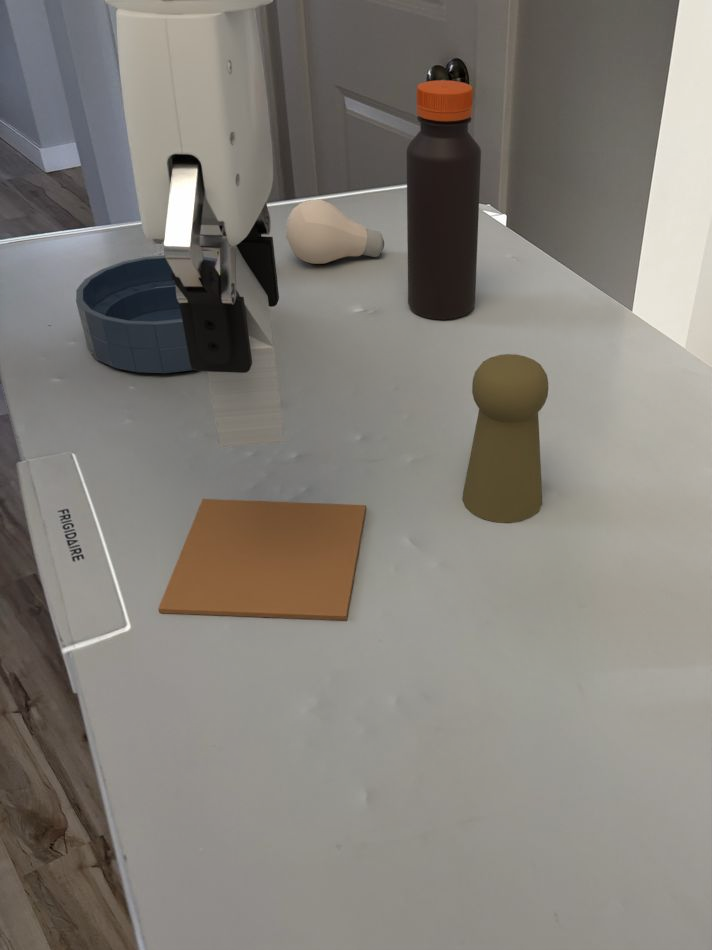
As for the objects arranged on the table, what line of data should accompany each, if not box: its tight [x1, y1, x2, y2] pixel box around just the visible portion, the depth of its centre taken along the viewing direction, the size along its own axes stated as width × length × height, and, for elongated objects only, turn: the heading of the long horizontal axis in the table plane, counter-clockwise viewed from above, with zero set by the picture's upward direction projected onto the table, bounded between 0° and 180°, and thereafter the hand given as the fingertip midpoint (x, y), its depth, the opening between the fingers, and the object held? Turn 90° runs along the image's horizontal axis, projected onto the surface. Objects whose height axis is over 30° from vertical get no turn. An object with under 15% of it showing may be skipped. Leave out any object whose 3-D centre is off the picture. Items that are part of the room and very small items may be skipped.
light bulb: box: [285, 199, 385, 265], centre depth 101 cm, size 7×7×11 cm
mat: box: [158, 498, 367, 621], centre depth 63 cm, size 12×12×1 cm
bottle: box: [406, 79, 482, 321], centre depth 87 cm, size 7×7×20 cm
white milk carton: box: [206, 232, 285, 448], centre depth 53 cm, size 4×7×10 cm, turn 11°
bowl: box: [75, 254, 217, 374], centre depth 86 cm, size 15×15×5 cm
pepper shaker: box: [461, 353, 549, 524], centre depth 66 cm, size 6×6×11 cm
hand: (238, 333), depth 53 cm, fingers closed on white milk carton, 7 cm apart
